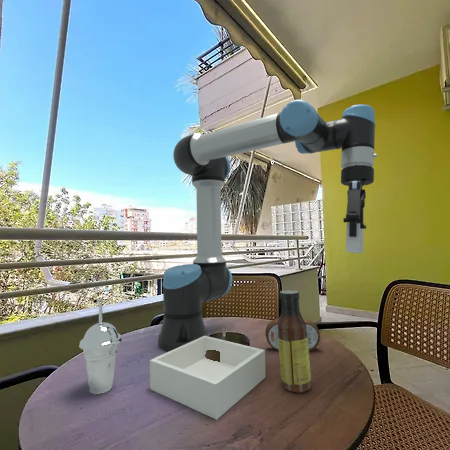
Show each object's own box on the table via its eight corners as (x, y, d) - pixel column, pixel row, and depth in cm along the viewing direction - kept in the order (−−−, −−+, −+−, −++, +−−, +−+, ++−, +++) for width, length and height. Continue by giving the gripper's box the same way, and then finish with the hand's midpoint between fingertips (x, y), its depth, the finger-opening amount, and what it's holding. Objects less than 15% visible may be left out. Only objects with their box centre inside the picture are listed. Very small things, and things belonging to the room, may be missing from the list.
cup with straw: (130, 380, 63) (129, 291, 64) (103, 403, 54) (103, 300, 55) (97, 377, 65) (97, 290, 66) (67, 398, 56) (67, 298, 57)
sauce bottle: (313, 382, 60) (309, 289, 61) (309, 397, 55) (304, 295, 56) (283, 376, 63) (280, 288, 64) (276, 390, 57) (272, 293, 58)
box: (150, 389, 59) (149, 360, 60) (205, 358, 74) (204, 335, 74) (216, 419, 49) (215, 384, 49) (265, 377, 63) (264, 350, 63)
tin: (319, 348, 79) (318, 318, 79) (322, 352, 76) (320, 321, 76) (265, 347, 80) (264, 317, 81) (266, 352, 77) (265, 321, 78)
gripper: (372, 149, 58) (370, 252, 56) (375, 179, 79) (373, 254, 78) (334, 153, 61) (331, 250, 60) (346, 180, 83) (344, 252, 81)
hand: (355, 252), depth 69 cm, fingers open, 13 cm apart
